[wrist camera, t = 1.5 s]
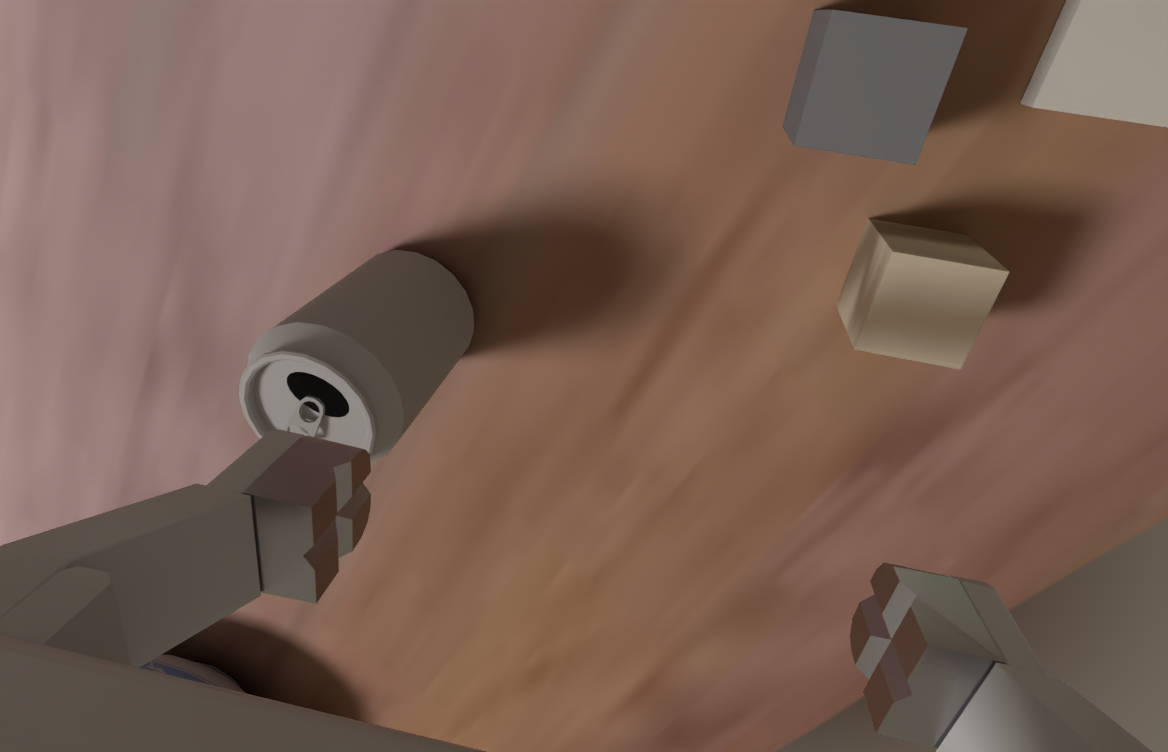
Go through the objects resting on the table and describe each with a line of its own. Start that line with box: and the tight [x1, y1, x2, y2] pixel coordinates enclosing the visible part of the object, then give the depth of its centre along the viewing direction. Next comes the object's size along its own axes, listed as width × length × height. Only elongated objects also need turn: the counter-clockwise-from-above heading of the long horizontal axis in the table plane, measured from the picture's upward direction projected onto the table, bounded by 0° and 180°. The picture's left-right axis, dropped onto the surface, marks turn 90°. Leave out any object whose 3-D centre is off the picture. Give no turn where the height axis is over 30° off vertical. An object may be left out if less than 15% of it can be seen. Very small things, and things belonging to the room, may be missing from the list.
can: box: [239, 250, 474, 463], centre depth 32 cm, size 8×8×12 cm
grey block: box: [783, 9, 968, 165], centre depth 25 cm, size 5×5×5 cm
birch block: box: [836, 218, 1009, 369], centre depth 29 cm, size 5×5×5 cm
